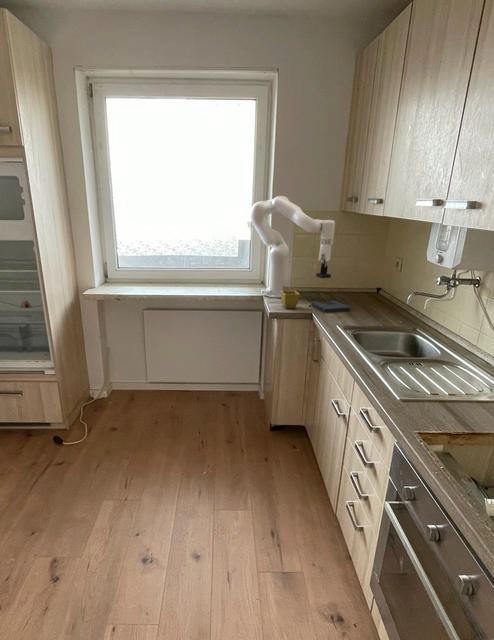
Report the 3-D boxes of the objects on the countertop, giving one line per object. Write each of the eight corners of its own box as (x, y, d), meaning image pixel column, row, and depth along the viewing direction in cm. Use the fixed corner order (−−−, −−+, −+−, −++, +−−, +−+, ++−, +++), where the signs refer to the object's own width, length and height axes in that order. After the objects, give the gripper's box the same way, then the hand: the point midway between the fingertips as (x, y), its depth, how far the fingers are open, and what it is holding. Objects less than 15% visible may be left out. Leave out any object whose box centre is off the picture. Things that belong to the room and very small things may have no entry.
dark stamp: (321, 278, 251) (322, 264, 248) (316, 276, 257) (317, 263, 254) (330, 277, 253) (332, 264, 250) (325, 275, 259) (326, 262, 256)
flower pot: (293, 305, 248) (295, 290, 245) (298, 309, 240) (299, 293, 237) (279, 305, 247) (280, 290, 243) (284, 309, 239) (285, 294, 235)
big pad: (324, 312, 234) (325, 309, 233) (311, 305, 248) (311, 302, 247) (349, 310, 238) (350, 307, 237) (335, 303, 252) (335, 300, 252)
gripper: (323, 240, 255) (321, 270, 262) (316, 242, 242) (313, 274, 249) (336, 241, 252) (333, 271, 259) (329, 243, 239) (326, 275, 246)
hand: (323, 272), depth 254 cm, fingers closed on dark stamp, 2 cm apart
